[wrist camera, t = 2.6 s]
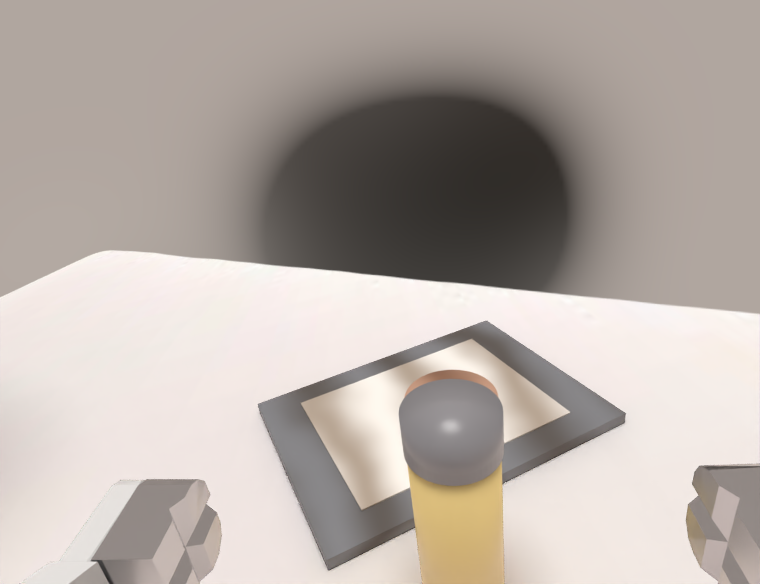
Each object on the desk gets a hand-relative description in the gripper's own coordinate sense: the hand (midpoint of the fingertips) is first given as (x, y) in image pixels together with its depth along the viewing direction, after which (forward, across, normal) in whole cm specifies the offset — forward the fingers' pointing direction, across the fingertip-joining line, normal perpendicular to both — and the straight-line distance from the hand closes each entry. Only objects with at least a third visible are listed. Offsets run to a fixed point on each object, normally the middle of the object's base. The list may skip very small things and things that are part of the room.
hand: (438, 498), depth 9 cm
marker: (+11, 0, -19) cm, 22 cm away
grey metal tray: (+25, -2, -19) cm, 31 cm away
